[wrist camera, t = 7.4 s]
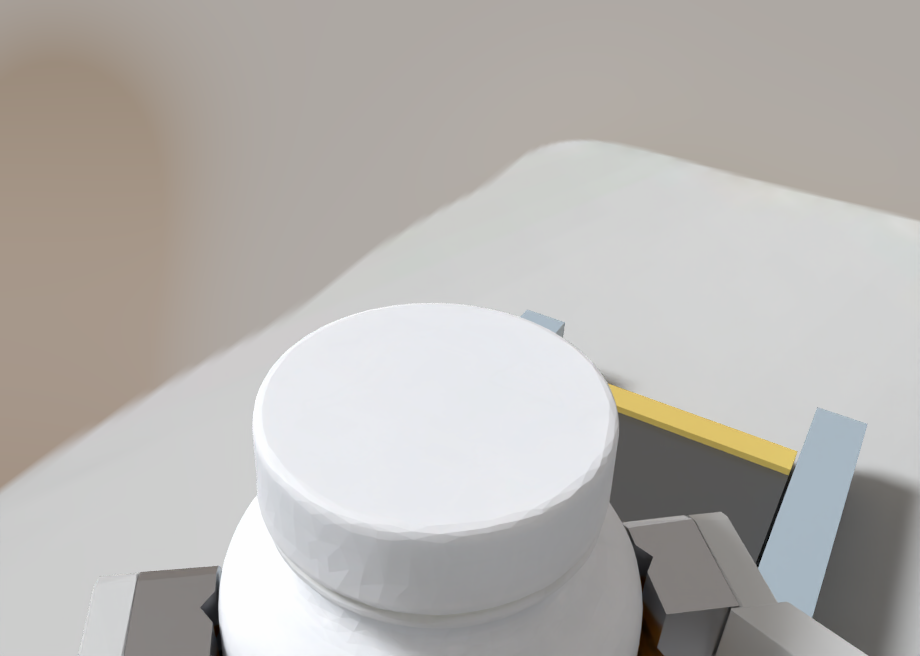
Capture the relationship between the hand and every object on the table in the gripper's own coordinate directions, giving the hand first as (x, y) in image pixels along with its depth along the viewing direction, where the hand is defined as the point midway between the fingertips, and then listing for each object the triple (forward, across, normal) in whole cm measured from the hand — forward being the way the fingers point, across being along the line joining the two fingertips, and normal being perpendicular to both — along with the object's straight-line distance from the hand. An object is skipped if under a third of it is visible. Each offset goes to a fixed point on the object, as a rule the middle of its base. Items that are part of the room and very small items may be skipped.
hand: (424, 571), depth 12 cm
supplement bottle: (-1, 0, +6) cm, 6 cm away
